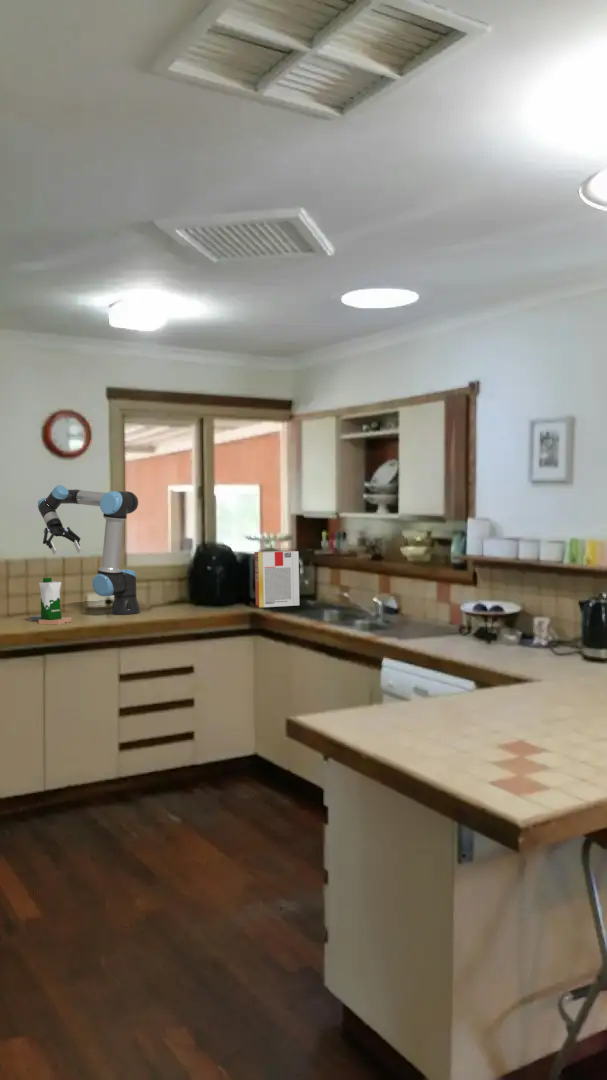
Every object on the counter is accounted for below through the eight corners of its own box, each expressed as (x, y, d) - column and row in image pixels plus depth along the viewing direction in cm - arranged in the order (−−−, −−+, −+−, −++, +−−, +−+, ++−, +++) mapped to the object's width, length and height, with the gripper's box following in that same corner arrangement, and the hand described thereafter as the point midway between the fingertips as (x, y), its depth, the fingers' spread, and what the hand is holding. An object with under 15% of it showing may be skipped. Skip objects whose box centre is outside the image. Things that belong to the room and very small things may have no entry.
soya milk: (52, 617, 424) (51, 577, 423) (64, 618, 418) (63, 577, 418) (38, 619, 417) (36, 578, 416) (49, 620, 411) (48, 579, 410)
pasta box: (295, 603, 479) (294, 550, 478) (299, 605, 472) (298, 551, 470) (255, 605, 473) (254, 551, 471) (259, 607, 465) (258, 552, 464)
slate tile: (61, 618, 434) (61, 614, 434) (48, 621, 424) (48, 617, 424) (43, 617, 438) (43, 613, 438) (30, 620, 428) (30, 616, 428)
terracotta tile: (71, 621, 422) (71, 617, 422) (58, 624, 411) (58, 620, 411) (52, 620, 425) (52, 616, 425) (38, 624, 415) (38, 619, 415)
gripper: (72, 526, 460) (86, 555, 450) (28, 528, 443) (42, 558, 433) (77, 516, 456) (91, 545, 445) (32, 518, 439) (46, 547, 429)
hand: (67, 551), depth 439 cm, fingers open, 13 cm apart
